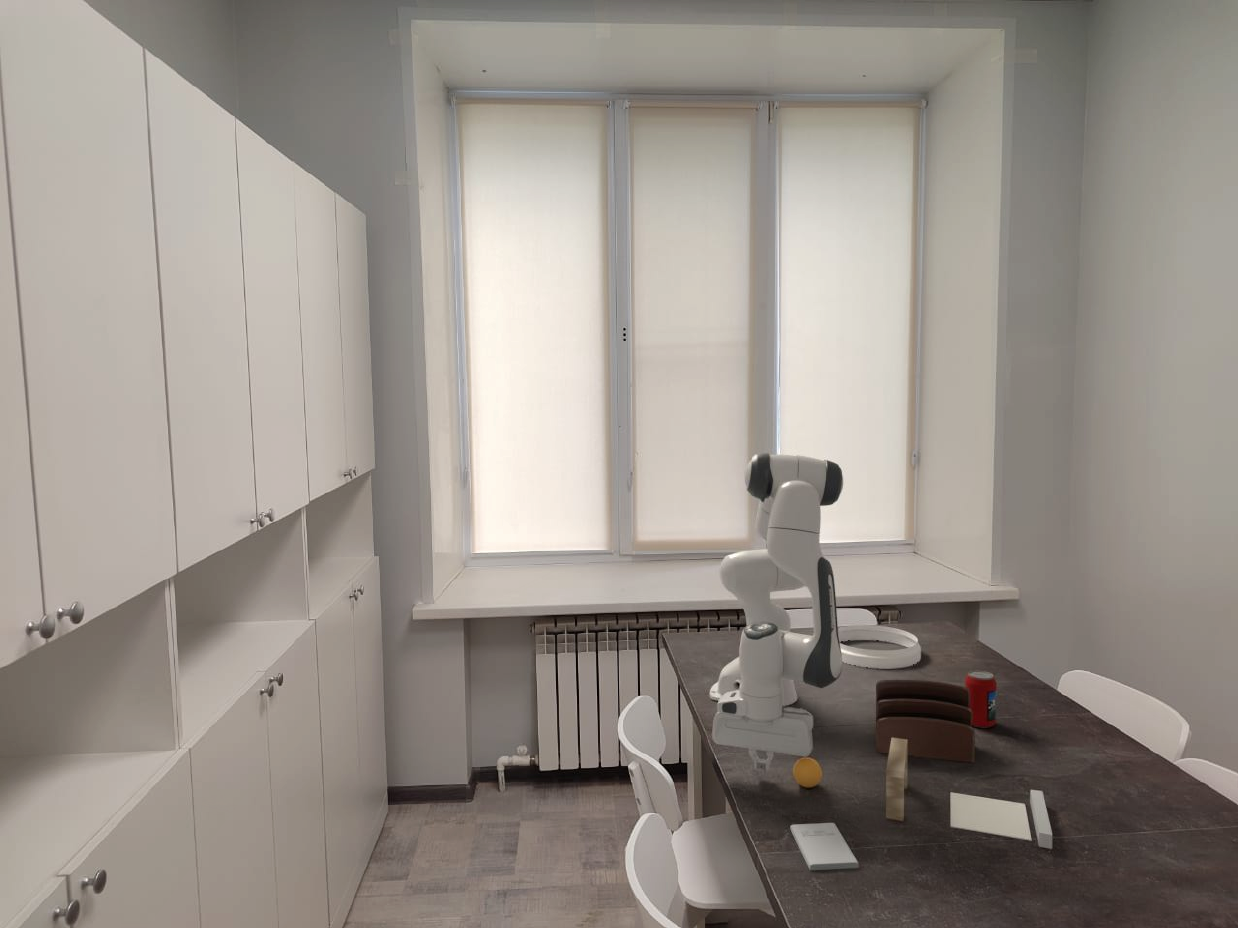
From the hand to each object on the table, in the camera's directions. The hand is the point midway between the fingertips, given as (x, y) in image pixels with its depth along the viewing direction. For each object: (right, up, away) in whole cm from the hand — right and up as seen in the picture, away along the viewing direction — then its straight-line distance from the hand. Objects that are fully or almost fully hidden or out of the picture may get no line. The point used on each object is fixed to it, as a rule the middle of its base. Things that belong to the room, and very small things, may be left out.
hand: (762, 769), depth 162 cm
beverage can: (+56, +1, +24) cm, 61 cm away
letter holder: (+38, -1, +13) cm, 40 cm away
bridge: (+24, -2, -10) cm, 26 cm away
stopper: (+47, -3, -19) cm, 51 cm away
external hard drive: (+6, -5, -25) cm, 26 cm away
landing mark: (+39, -2, -16) cm, 42 cm away
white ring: (+47, +5, +77) cm, 90 cm away
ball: (+8, +1, -3) cm, 9 cm away
